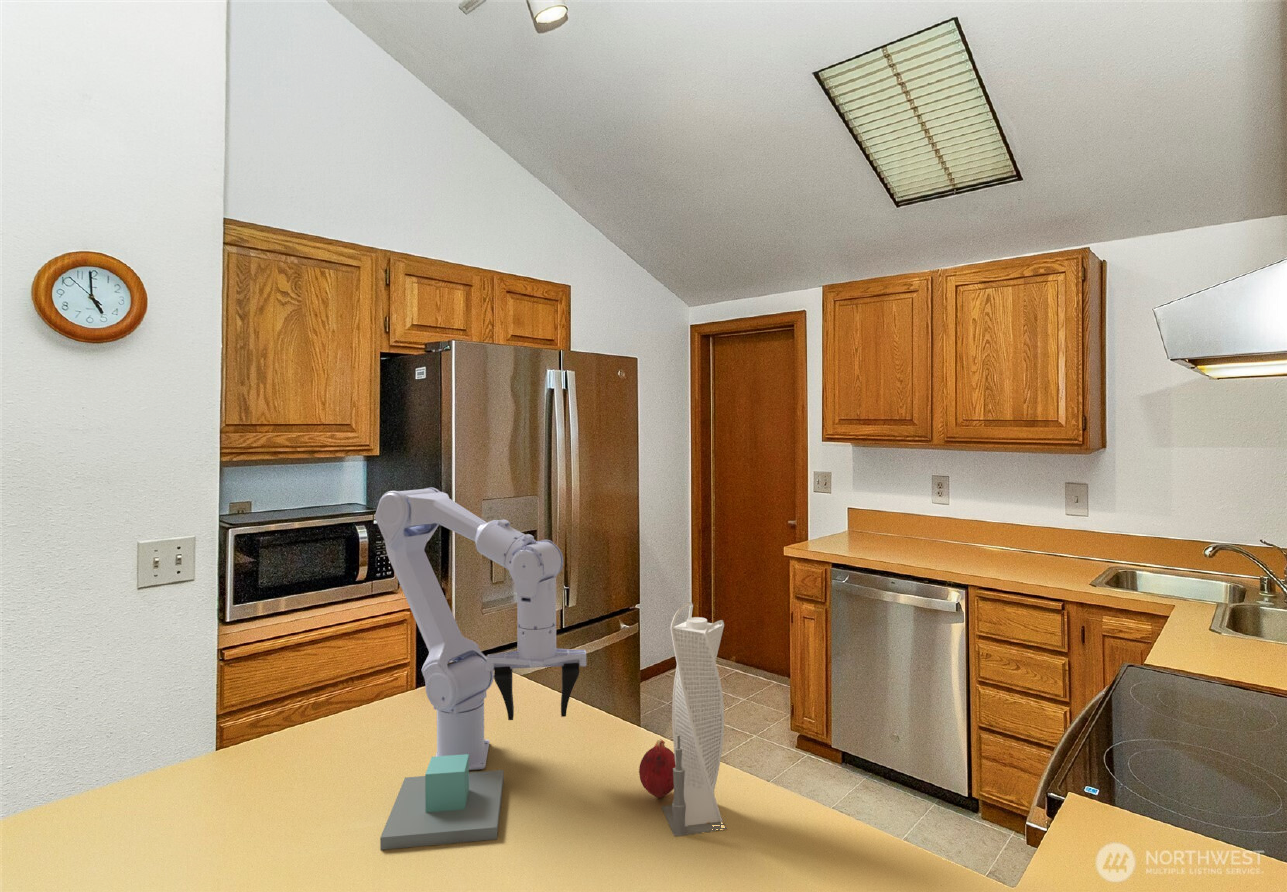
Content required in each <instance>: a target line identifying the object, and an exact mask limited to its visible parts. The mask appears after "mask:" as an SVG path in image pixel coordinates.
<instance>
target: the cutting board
mask: <svg viewBox="0 0 1287 892" xmlns="http://www.w3.org/2000/svg"><path fill="white" fill-rule="evenodd" d="M504 778H505V777H504V769H499V770H497V769H496V770H487V771H484V770H483V771H474V772H473V771H471V772H470V771H469V792H468V797H467V801H466V806H465V809H462V810H449V811H437V812H426V810H425V775H421V776H408V777H404V780H403V781H402V783H401V786H400V788H399V791H398V794H397V796H396V799H395V801H394V804H393V806H392V808H391V810H390V812H389V813H390V814H389V816H388V818H387V820H386V823H385V826H384V828H383V830H382V833H381V835H380V837H379V838H380V843H379V845H380V846H379V847H380V849H379V850H381V851H382V850H383V851H384V850H391V849H402V848H415V847H425V846H435V845H446V844H458V843H459V844H460V843H468V842H469V843H470V842H471V843H472V842H478V841H479V842H480V841H491V840H492V841H493V840H497V839H498V833H499V824H500V817H501V816H500V815H501V807H502V806H501V805H502V797H503V787H504V780H505V779H504Z"/></svg>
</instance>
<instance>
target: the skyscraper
mask: <svg viewBox="0 0 1287 892" xmlns="http://www.w3.org/2000/svg"><path fill="white" fill-rule="evenodd" d="M687 607H689V611H688V617H687V618H686V621H684V622H682V623H679V624H677V625H675V623H676V620H677V618H678V615H680V612H681V611H682V610H683V609H685V608H687ZM693 608H694V604H693V602H686V603H684V604H683V605H681V606H680V607H678V609H677V610H676V611H675V614H674V615H673V618H672V621H671V622H670V623H671V624H670V627H669V629H670V634H671V635H670V636H671V639H672V640H671V641H672V645H673V651H674V656H675V661H676V668H675V675H674V681H673V690H672V704H671V705H672V707H671V708H672V711H671V716H672V718H671V720H672V725H671V726H672V742H673V753H674V755H675V764H676V767H675V768H673V781H674V789H673V801H671V804H670V805H663V806H661V809H662V812H663V814H664V817H665V818H666V821H667V823H668V825H669V828H670V830H671V832H672V834H673V836H674V837H676V838H677V837H681V836H689V835H690V836H691V835H697V834H696V833H699V834H703V833H702V832H707V833H712V832H711V831H715V830H716V829H718V830H720V829H727V830H728V828H727V826H726V825H725V823H724V821H723V818H722V815H721V814H722V813H721V812H720V809H719V805H718V802H717V799H716V796H715V789H716V785H717V779H718V774H719V770H720V765H721V760H722V759H721V758H722V753H723V745H724V733H725V732H724V731H725V704H724V694H723V689H722V683H721V678H720V674H719V669H718V666H717V657H718V655H719V654H718V653H719V649H720V645H721V640H722V636H723V633H724V628H725V623H724V620H723V619H720V620H717V621H715V622H713V623H712V622H708V619H707V618H705V617H700V616H697V617H696V616H694V617H692V615H693V610H694V609H693ZM721 822H723V824H721ZM712 825H720V826H714V827H713V826H712ZM721 825H725V826H726V827H725V828H721ZM712 829H713V830H712ZM715 832H716V831H715Z"/></svg>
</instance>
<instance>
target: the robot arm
mask: <svg viewBox="0 0 1287 892" xmlns="http://www.w3.org/2000/svg"><path fill="white" fill-rule="evenodd" d="M374 519H375V521H376V524H377V526H378V528H379V530H380V533H381V536H382V537H383V540H384V543H385V551H386V555H387V557H388V560H389V562H390V564H391V567H392V569H393V572H394V574H395V575H396V579H397V580H398V583H399V585H400V588H401V589H402V592H403V594H404V598H405V599H406V602H407V604H408V606H409V609H410V611H411V613H412V615H413V618H414V620H415V623H416V624H417V627H418V630H419V633H420V634H421V637H422V639H423V641H424V643H425V645H426V648H427V650H428V655H427V657H426V660H425V661H424V663H423V665H422V668H421V673H422V676H423V679H424V682H425V693H426V697H427V699H428V701H429V702H430V705H432V707H433V710H436V753H435V756H434V757H436V756H450V755H464V754H469V771H473V770H483V769H486V765H487V759H488V752H489V747H490V739H485V699H486V698H487V691H488V690H489V689H490V688H491V686H492V685H493V683H494V682H495V684H496V686H497V688H498V690H499V691H500V693H501V694H500V695H501V696H502V698H503V701H504V704H505V708H506V712H507V720H508V721H514V713H515V712H514V711H515V710H514V708H515V705H514V694H513V670H515V669H529V668H530V669H531V668H533V669H535V668H548V667H550V668H551V667H561V698H560V717H561V718H565V717H567V709H568V705H569V700H570V697H571V694H572V691H573V690H574V686H575V685H576V682H577V680H578V679H579V676H580V667H587V650H586V649H572V648H571V649H569V648H557V576H558V575H559V574H560V573H561V572H562V569H563V566H564V557H563V553H562V551H561V549H560V548H559V546H558V545H557V544H555V543H554V542H553V541H552V540H550V539H543V540H539V541H537V540H536V539H534V538H535V536H533V535H532V534H529V533H527V534H525V533H523V532H522V531H519V530H517V529H515V528H513V526H511V522H510V521H509V520H507V519H499V520H498V519H492V520H490V521H488V522H487V521H485V520H484V519H482V518H481V517H479V516H477V515H476V514H474V513H472V512H471V511H470V510H468V509H466V508H465V507H463V506H462V505H460V504H459V503H457V502H455V501H454V500H453V499H451V498H450V497H449V493H446V492H444V491H440V490H439V489H437V488H435V487H425V488H421V489H420V488H419V489H411V490H410V489H409V490H401V491H400V490H399V491H398V490H390V491H386V492H385V493H383V495H382V496H381V497H380V499H379V501H378V504H377V508H376V512H375V513H374ZM439 526H442V527H444V528H446V529H448V530H450V531H452V532H454V533H455V534H456V533H457V534H458V535H460V536H463V537H465V538H466V539H469V540H470V541H473V542H475V549H476V552H478V553H479V554H481V555H482V556H483V557H485V558H487V559H489V560H491V561H493V562H494V563H496V564H498V565H499V566H501V567H503V568H505V569H506V570H508V573H509V575H510V578H511V579H512V581H513V583H514V592H515V593H516V599H517V600H516V603H517V607H516V610H517V617H516V618H517V619H516V623H517V626H516V628H517V630H516V632H517V633H516V635H517V636H516V637H517V638H516V639H517V642H516V643H517V644H516V645H517V650H514V651H513V650H512V651H506V652H498V653H490V654H486V655H487V656H486V655H485V654H484V653H483V652H482V651H481V649H480V647H479V644H478V643H477V642H475V641H474V640H472V639H468V638H466V637H465V636H464V635H463V634H462V632H461V630H460V627H459V626H458V623H457V621H456V619H455V617H454V614H453V613H452V610H451V608H450V606H449V603H448V602H447V601H448V600H447V599H446V595H444V592H443V590H442V587H441V585H440V583H439V580H438V578H437V576H436V573H435V572H434V569H433V567H432V565H431V563H430V561H429V558H428V555H427V553H426V552H425V549H426V545H427V543H428V542H429V541H430V539H431V538H432V536H433V535H434V534H435V532H436V530H437V529H438V527H439ZM451 662H452V663H451ZM449 663H450V664H449Z"/></svg>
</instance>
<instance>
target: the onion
mask: <svg viewBox="0 0 1287 892" xmlns="http://www.w3.org/2000/svg"><path fill="white" fill-rule="evenodd" d="M639 763H640V764H639V766H638V767H639V768H638V773H639V780H640V782H641V785H642V787H643V788H644V789H645V790H646V791H647V792H648V793H649V794H651V795H652V796H654V797H656V798H658V799H663V798H664V797H665V796H667V795H669V794H670V793H671V792H672V791H674V781H673V768H675V767H676V764H675V755H674V751H672V749H670V748H668V747H667V746H665V741H664V740H663V739H661V738H660V739H659V740H656V743H655V745H654V746H653V747H651V748H650V749H648V751H646V753H645V754H644V755H643V757H642V758H641V761H640V762H639Z"/></svg>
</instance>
